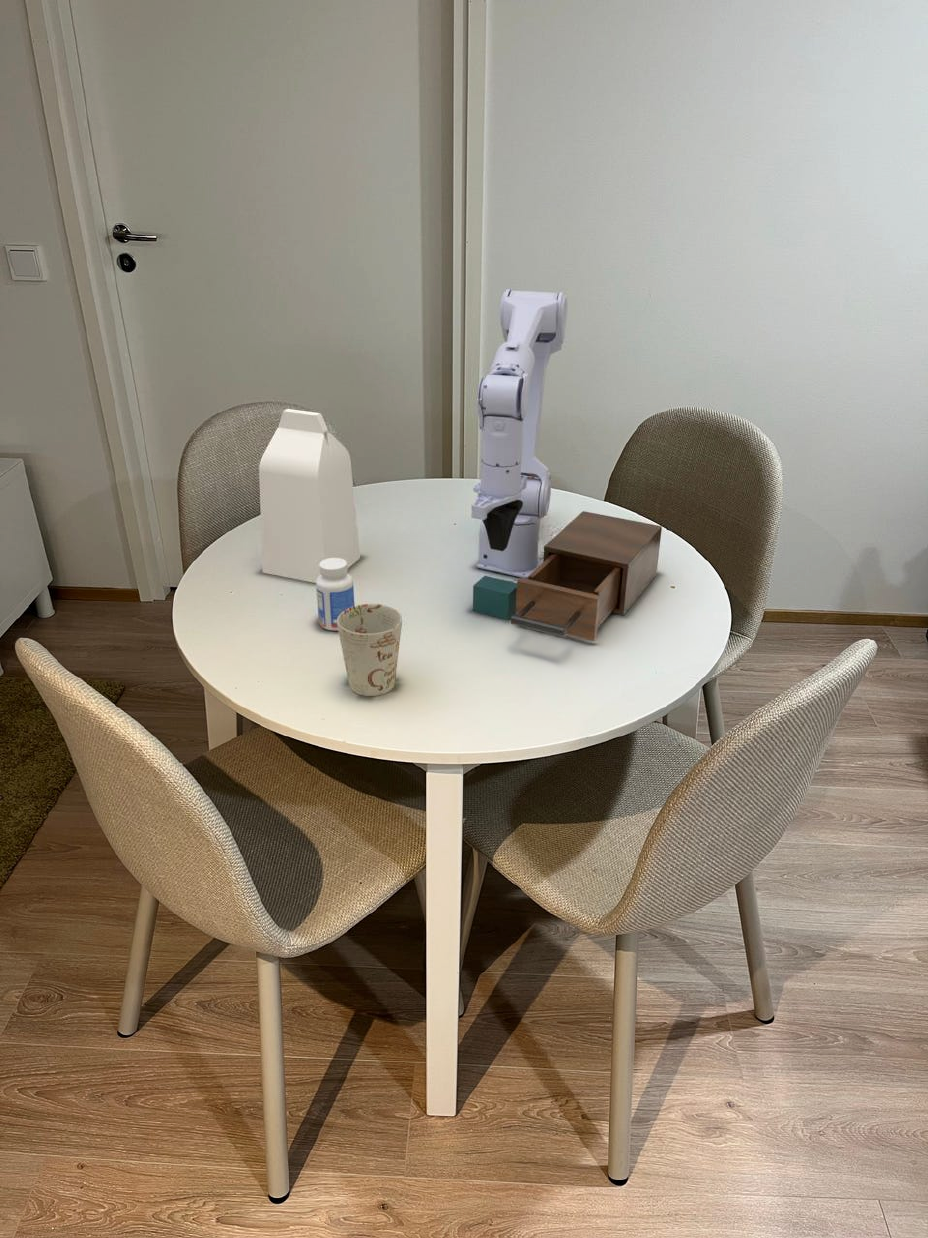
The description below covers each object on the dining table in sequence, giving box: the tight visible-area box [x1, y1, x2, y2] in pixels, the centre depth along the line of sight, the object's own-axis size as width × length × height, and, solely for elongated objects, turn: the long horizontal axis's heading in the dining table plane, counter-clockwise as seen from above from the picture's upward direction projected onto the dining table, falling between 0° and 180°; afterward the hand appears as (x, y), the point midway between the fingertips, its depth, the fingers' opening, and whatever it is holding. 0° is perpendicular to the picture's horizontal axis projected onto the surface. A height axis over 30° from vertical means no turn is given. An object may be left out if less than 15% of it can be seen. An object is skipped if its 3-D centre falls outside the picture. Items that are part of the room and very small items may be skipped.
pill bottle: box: [315, 558, 356, 632], centre depth 143 cm, size 6×5×10 cm
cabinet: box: [542, 510, 663, 616], centre depth 156 cm, size 17×14×9 cm
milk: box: [258, 408, 361, 584], centre depth 157 cm, size 12×12×26 cm
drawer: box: [510, 553, 623, 642], centre depth 144 cm, size 22×12×7 cm, turn 153°
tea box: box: [472, 575, 517, 621], centre depth 149 cm, size 6×4×4 cm, turn 63°
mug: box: [337, 603, 403, 697], centre depth 130 cm, size 8×13×10 cm, turn 27°
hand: (498, 548), depth 145 cm, fingers closed
